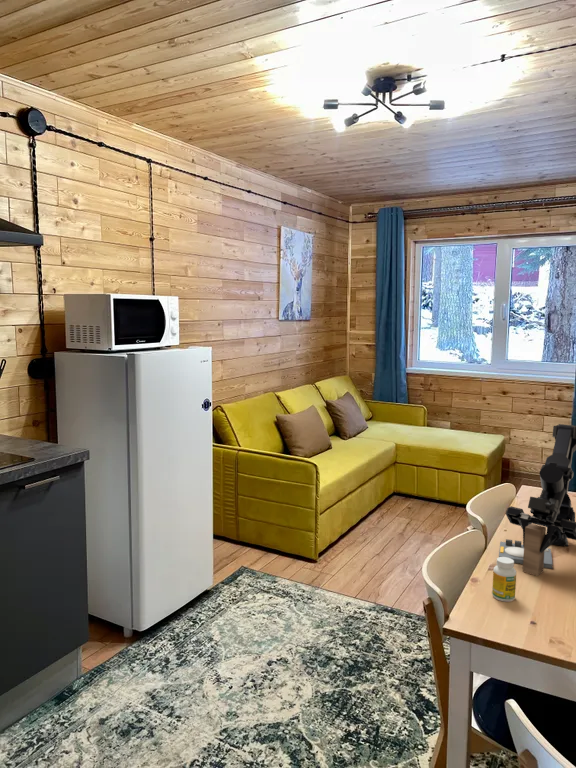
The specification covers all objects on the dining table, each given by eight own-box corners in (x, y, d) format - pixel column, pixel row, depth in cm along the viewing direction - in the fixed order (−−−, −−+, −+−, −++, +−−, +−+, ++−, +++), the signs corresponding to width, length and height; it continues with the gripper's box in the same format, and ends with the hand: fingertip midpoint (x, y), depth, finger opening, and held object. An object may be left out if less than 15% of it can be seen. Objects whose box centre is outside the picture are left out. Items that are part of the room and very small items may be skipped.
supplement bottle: (501, 590, 146) (503, 553, 145) (519, 598, 142) (521, 561, 141) (487, 595, 143) (489, 558, 142) (505, 604, 139) (508, 566, 138)
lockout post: (528, 567, 160) (531, 523, 159) (543, 571, 157) (546, 527, 156) (522, 571, 157) (525, 527, 156) (537, 576, 155) (540, 531, 153)
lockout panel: (500, 545, 175) (500, 536, 175) (550, 552, 170) (551, 543, 170) (498, 560, 164) (499, 551, 164) (552, 568, 159) (552, 559, 159)
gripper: (510, 478, 164) (490, 525, 157) (580, 492, 151) (562, 544, 144) (519, 499, 171) (501, 545, 164) (587, 514, 158) (570, 565, 151)
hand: (532, 549), depth 156 cm, fingers closed on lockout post, 4 cm apart
